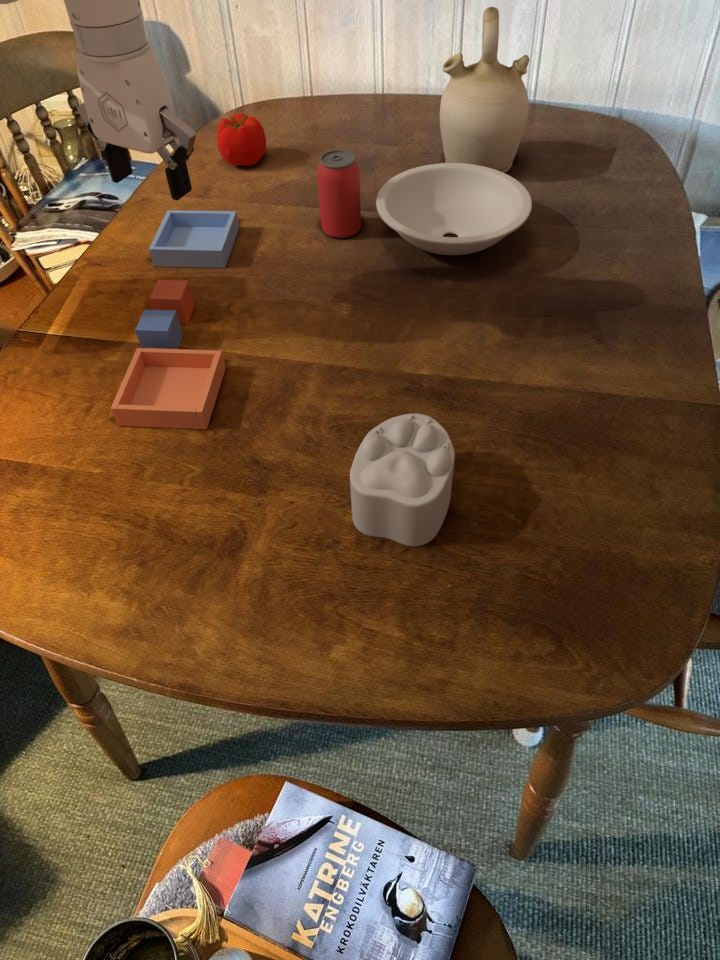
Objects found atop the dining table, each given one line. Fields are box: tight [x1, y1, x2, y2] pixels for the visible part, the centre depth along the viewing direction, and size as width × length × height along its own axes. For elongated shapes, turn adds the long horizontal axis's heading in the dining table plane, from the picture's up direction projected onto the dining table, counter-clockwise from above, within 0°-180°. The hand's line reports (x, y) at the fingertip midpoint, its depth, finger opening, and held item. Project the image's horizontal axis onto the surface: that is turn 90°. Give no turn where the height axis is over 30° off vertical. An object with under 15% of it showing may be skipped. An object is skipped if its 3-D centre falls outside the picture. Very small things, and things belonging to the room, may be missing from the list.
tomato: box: [216, 113, 267, 167], centre depth 132 cm, size 9×9×8 cm
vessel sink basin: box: [375, 162, 533, 256], centre depth 114 cm, size 24×24×7 cm
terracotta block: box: [149, 279, 195, 326], centre depth 104 cm, size 4×4×4 cm
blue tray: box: [148, 209, 240, 269], centre depth 116 cm, size 12×12×3 cm
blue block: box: [134, 309, 184, 349], centre depth 99 cm, size 4×4×4 cm
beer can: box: [316, 149, 362, 239], centre depth 114 cm, size 7×7×12 cm
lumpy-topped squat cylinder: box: [349, 413, 456, 547], centre depth 79 cm, size 10×13×9 cm
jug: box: [439, 6, 530, 174], centre depth 122 cm, size 15×16×25 cm
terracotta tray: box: [110, 347, 227, 430], centre depth 93 cm, size 12×12×3 cm
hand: (152, 186), depth 90 cm, fingers open, 9 cm apart
